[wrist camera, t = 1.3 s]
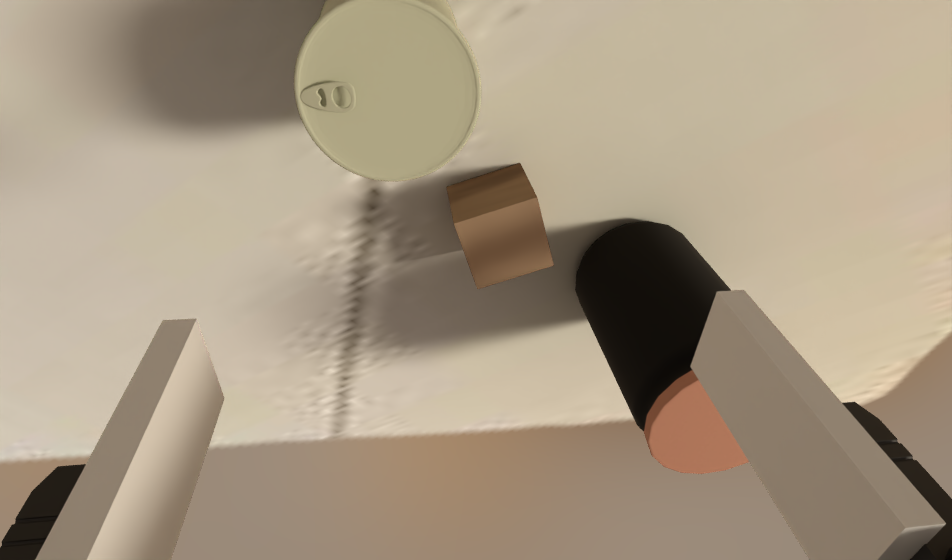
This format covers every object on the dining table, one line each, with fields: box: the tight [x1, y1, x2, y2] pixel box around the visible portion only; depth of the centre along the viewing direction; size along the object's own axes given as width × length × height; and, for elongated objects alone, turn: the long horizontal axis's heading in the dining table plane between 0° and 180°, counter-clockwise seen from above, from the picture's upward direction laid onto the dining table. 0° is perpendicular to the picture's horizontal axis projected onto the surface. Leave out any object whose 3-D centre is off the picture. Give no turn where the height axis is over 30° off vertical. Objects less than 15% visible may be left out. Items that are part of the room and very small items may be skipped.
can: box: [294, 0, 481, 181], centre depth 31 cm, size 9×9×12 cm
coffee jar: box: [575, 221, 749, 474], centre depth 42 cm, size 11×11×18 cm
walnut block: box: [447, 163, 554, 289], centre depth 42 cm, size 6×6×6 cm
